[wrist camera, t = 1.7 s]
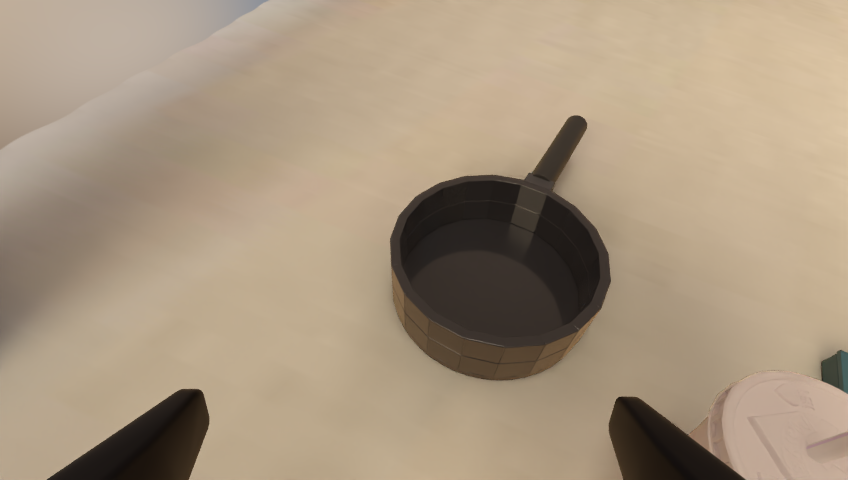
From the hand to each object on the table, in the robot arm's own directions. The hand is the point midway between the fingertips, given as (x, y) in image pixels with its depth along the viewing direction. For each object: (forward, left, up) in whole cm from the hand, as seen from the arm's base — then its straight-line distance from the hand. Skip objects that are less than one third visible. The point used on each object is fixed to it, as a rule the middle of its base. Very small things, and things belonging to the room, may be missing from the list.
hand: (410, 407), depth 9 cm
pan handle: (+11, -23, -12) cm, 28 cm away
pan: (+7, -12, -14) cm, 20 cm away
